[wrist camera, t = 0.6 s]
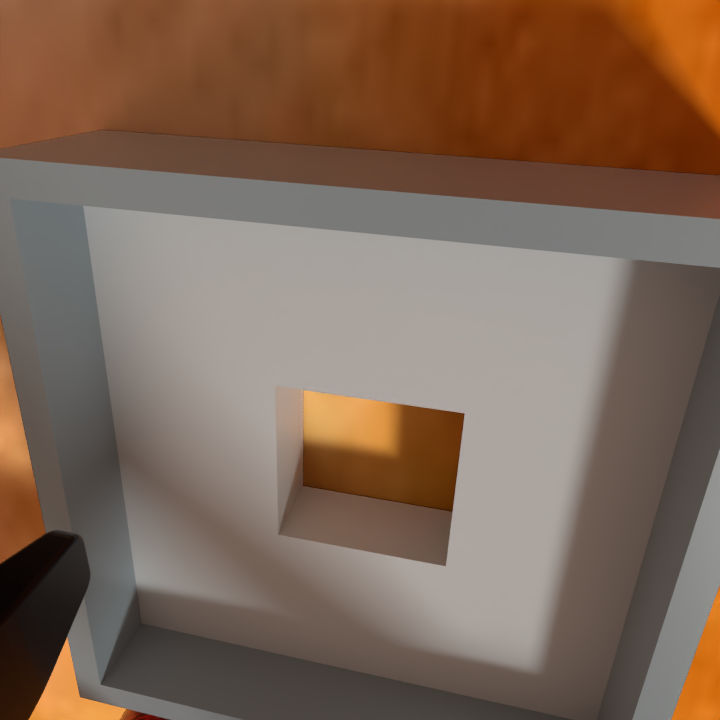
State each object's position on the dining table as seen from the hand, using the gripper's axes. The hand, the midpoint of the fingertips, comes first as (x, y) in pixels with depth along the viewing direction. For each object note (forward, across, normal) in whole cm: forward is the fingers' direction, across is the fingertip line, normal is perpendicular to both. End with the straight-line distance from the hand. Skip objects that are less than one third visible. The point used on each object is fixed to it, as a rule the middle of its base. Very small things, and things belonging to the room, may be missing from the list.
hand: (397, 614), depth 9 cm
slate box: (+13, +1, +8) cm, 15 cm away
